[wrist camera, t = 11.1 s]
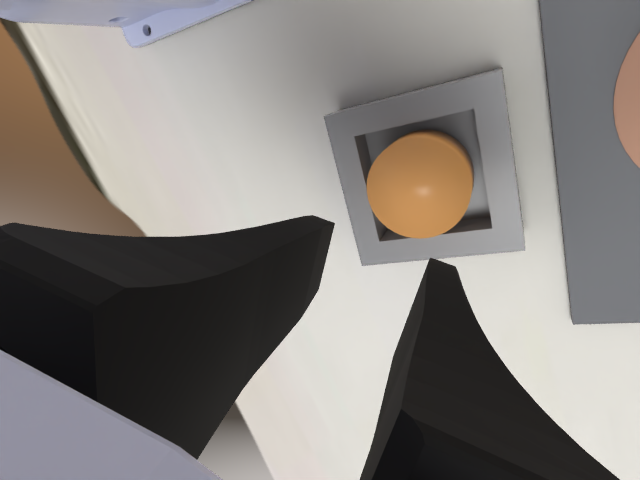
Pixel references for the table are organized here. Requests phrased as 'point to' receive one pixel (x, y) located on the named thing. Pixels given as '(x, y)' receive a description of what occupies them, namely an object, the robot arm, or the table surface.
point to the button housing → (466, 127)
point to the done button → (421, 184)
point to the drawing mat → (597, 151)
